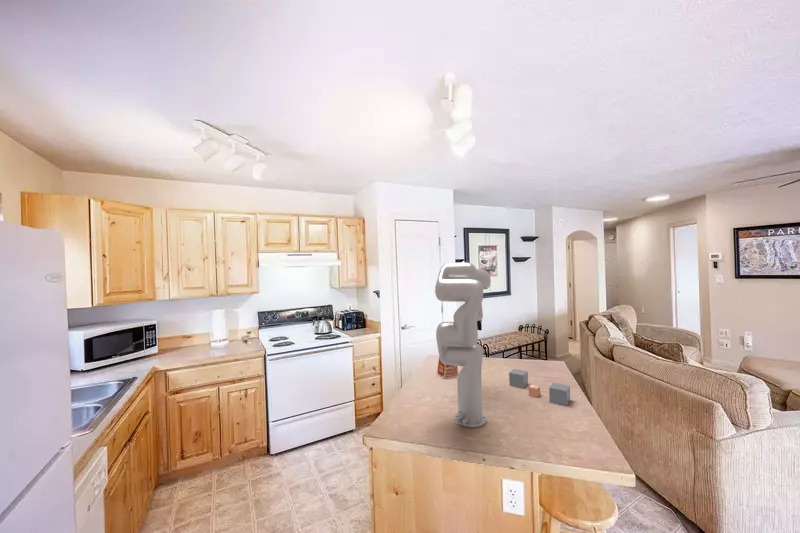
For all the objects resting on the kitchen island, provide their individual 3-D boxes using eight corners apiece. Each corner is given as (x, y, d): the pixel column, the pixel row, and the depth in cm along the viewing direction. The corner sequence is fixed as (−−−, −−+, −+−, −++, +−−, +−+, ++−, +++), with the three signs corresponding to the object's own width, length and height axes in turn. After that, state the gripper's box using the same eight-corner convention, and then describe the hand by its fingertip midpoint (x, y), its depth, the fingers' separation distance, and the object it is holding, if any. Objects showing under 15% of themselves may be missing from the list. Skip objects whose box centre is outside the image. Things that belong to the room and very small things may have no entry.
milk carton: (436, 374, 181) (435, 339, 180) (450, 371, 184) (449, 337, 184) (445, 379, 172) (444, 342, 172) (459, 376, 176) (458, 340, 176)
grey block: (566, 406, 138) (566, 391, 138) (549, 401, 143) (549, 387, 143) (570, 400, 144) (570, 385, 144) (553, 396, 148) (553, 382, 148)
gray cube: (523, 388, 158) (523, 375, 158) (509, 385, 162) (509, 372, 162) (527, 383, 163) (527, 371, 163) (514, 380, 168) (513, 368, 167)
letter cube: (537, 397, 147) (537, 388, 147) (528, 395, 150) (528, 386, 150) (540, 394, 151) (540, 386, 150) (531, 392, 153) (531, 384, 153)
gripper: (472, 300, 150) (473, 336, 150) (487, 296, 163) (488, 329, 164) (458, 299, 155) (459, 334, 155) (474, 295, 168) (475, 327, 169)
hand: (474, 331), depth 160 cm, fingers open, 9 cm apart
